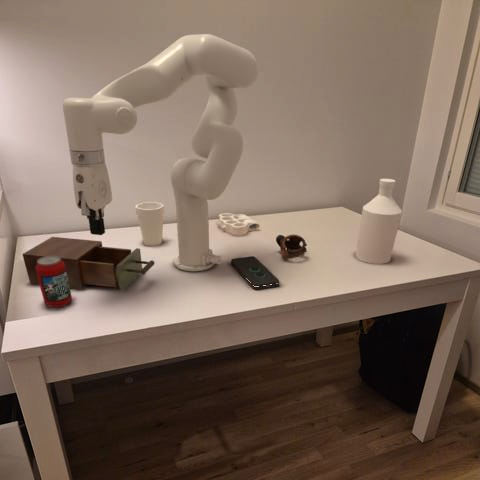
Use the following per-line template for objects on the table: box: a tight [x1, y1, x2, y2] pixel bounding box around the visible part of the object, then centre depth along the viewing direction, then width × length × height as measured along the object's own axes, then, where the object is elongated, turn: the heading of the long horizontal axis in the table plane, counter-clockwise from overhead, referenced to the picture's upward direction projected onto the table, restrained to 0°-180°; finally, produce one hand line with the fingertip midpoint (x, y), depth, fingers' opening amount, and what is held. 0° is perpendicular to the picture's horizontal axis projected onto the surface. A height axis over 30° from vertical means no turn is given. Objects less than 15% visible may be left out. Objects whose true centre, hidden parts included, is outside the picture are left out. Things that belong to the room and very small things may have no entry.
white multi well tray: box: [215, 212, 261, 237], centre depth 163 cm, size 3×18×15 cm
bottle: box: [355, 178, 403, 265], centre depth 134 cm, size 12×12×25 cm
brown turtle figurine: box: [275, 234, 308, 261], centre depth 139 cm, size 12×10×8 cm
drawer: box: [78, 246, 155, 291], centre depth 119 cm, size 20×13×7 cm, turn 79°
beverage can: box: [36, 256, 73, 308], centre depth 106 cm, size 7×7×12 cm
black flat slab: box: [230, 255, 280, 291], centre depth 126 cm, size 8×2×20 cm
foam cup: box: [135, 201, 165, 247], centre depth 145 cm, size 10×9×13 cm
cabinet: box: [21, 236, 103, 290], centre depth 121 cm, size 16×14×9 cm
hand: (98, 233), depth 107 cm, fingers closed
